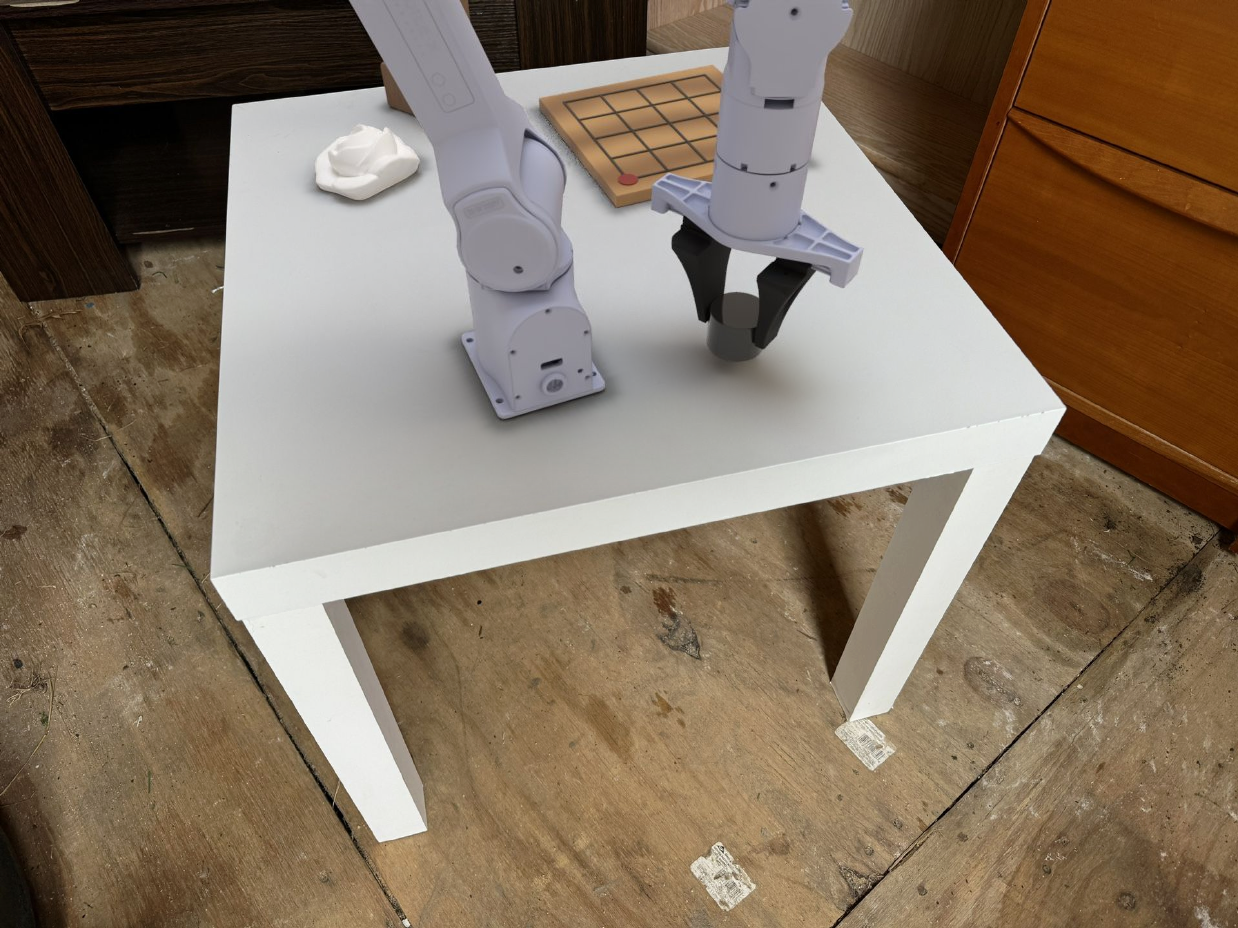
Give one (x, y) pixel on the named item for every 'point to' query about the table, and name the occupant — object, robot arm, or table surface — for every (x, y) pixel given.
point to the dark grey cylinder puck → (733, 326)
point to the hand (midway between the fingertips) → (737, 327)
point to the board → (641, 130)
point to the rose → (364, 163)
